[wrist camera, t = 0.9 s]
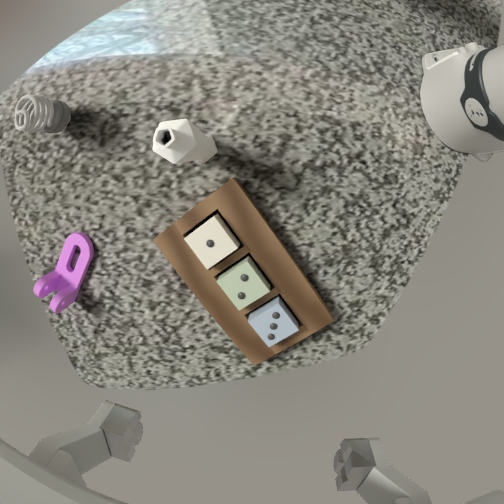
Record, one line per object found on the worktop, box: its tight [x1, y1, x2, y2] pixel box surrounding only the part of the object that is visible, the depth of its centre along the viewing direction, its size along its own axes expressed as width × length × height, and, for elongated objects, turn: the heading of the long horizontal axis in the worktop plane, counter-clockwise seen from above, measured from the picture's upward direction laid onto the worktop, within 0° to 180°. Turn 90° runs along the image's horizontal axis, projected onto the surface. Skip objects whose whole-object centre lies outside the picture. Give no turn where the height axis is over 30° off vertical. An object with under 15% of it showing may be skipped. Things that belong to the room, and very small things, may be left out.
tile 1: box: [184, 214, 240, 269], centre depth 39 cm, size 5×5×3 cm
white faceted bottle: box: [153, 119, 218, 164], centre depth 32 cm, size 5×4×15 cm
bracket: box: [34, 232, 94, 313], centre depth 43 cm, size 13×6×7 cm, turn 145°
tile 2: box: [216, 256, 270, 311], centre depth 40 cm, size 5×5×3 cm
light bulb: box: [15, 94, 71, 133], centre depth 33 cm, size 6×6×12 cm
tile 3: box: [248, 296, 299, 347], centre depth 42 cm, size 5×5×3 cm
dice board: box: [153, 178, 334, 366], centre depth 42 cm, size 14×24×2 cm, turn 36°
